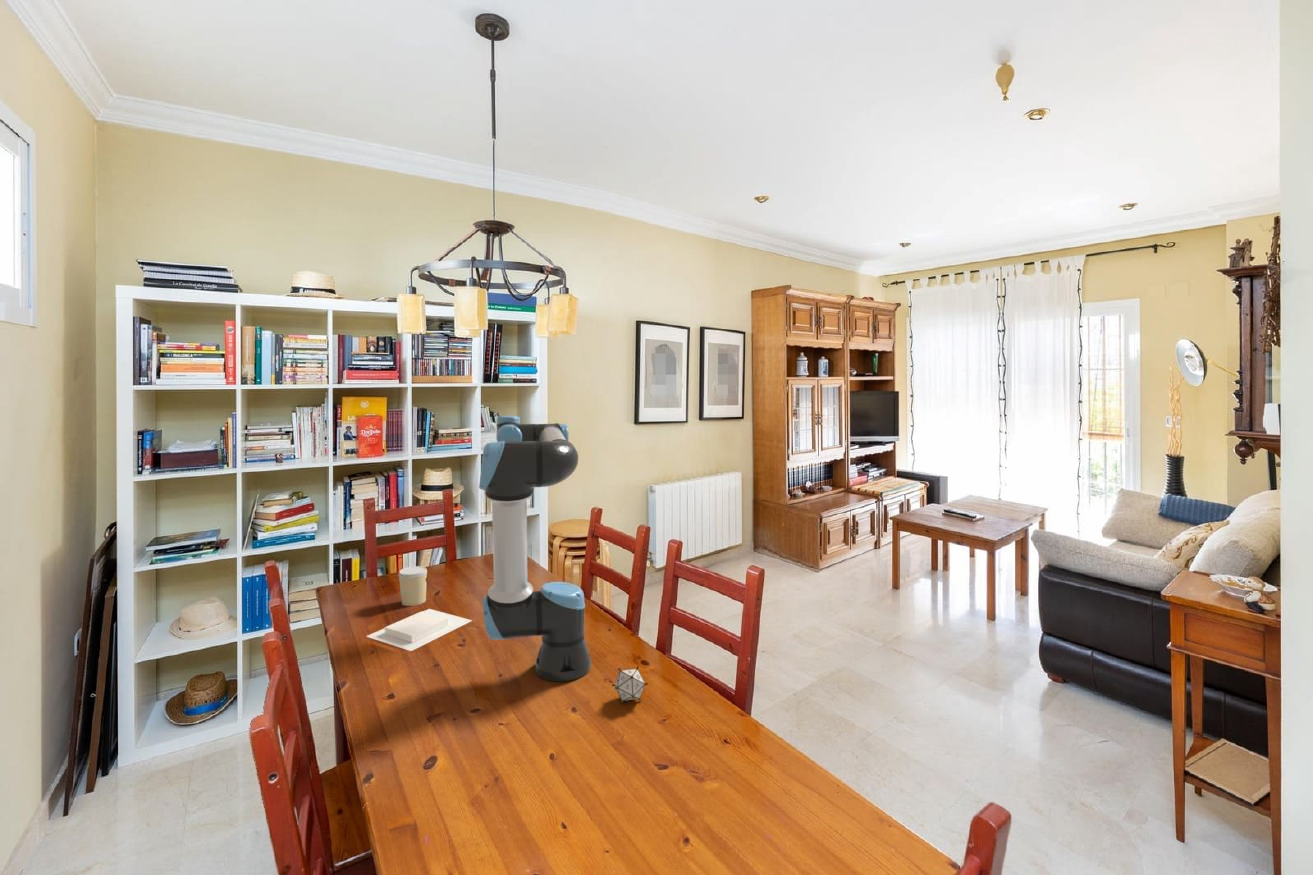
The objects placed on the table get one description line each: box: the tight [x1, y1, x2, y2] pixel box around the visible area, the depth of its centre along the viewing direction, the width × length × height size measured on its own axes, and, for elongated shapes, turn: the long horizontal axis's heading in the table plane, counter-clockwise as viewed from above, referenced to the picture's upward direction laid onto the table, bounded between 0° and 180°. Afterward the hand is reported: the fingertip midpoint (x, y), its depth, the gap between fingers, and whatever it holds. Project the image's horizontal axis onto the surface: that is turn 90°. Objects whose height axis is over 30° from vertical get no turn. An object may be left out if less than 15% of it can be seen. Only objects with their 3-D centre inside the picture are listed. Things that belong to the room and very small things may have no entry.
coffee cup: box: [398, 565, 428, 607], centre depth 201 cm, size 9×9×12 cm
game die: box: [611, 665, 649, 704], centre depth 142 cm, size 9×8×10 cm
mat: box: [365, 608, 473, 652], centre depth 180 cm, size 20×24×1 cm
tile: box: [384, 610, 449, 642], centre depth 179 cm, size 12×2×14 cm
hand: (510, 531), depth 192 cm, fingers closed
